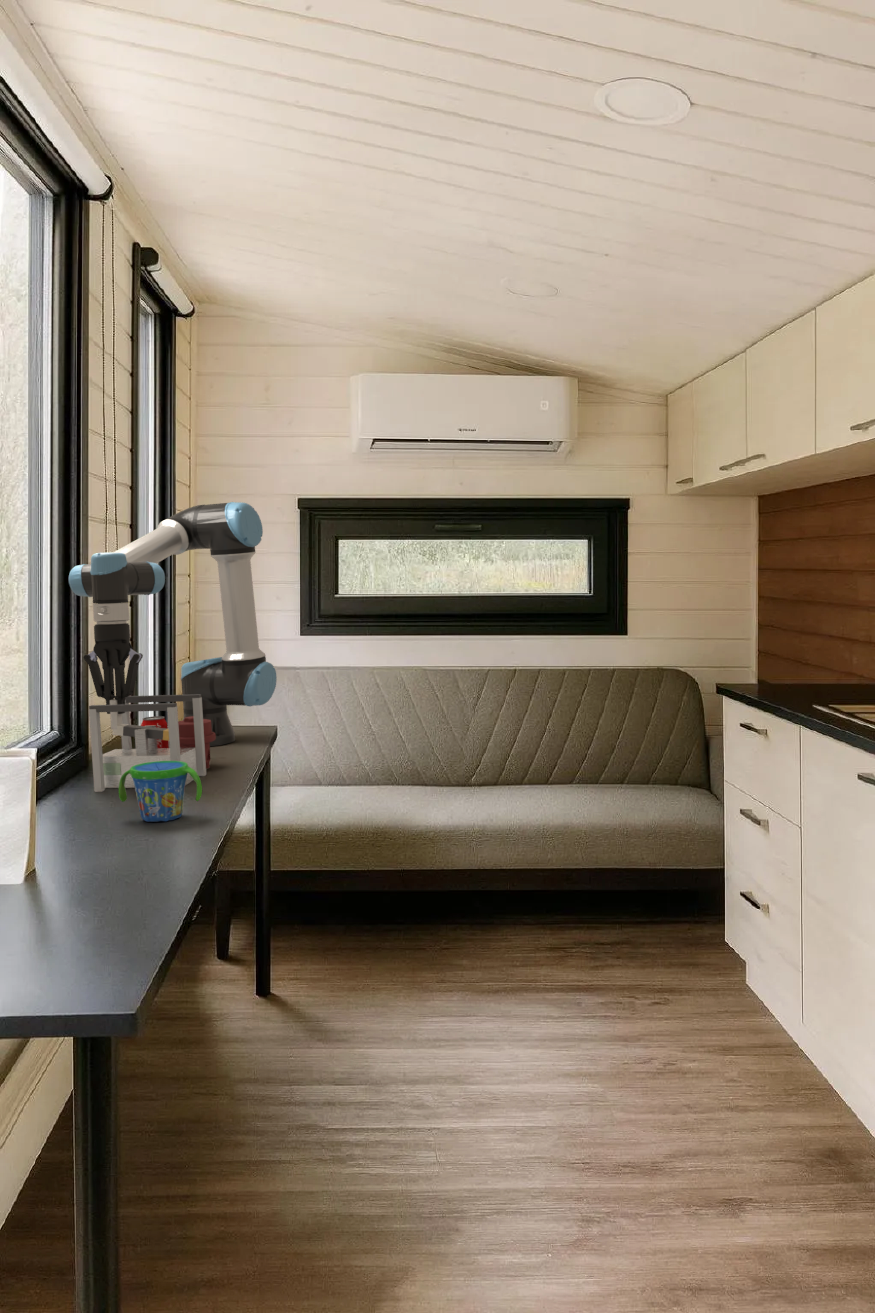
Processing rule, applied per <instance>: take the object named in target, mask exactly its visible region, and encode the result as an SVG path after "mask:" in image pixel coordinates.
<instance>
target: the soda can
mask: <svg viewBox="0 0 875 1313" xmlns="http://www.w3.org/2000/svg"><path fill="white" fill-rule="evenodd" d="M153 725H156V728H166V729H169V728H168V721H166V719H165V716H162V715H155V716H146V717H143V718H142V722H141V723H140V726H153ZM157 748H170V744H169V741H168V740H161V739H157Z"/></svg>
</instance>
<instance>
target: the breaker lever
mask: <svg viewBox="0 0 875 1313" xmlns="http://www.w3.org/2000/svg"><path fill="white" fill-rule="evenodd" d="M136 729H147V733H148V738H151V739H161V740H168V742H169V728H168V729H166V728H156V727H146V726H141V725H135V724H130V725H129V724H121V725H118V726H117V729H112V736H120V737H121V736H131V738H132V737H133V738H135V730H136Z"/></svg>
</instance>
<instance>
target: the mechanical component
mask: <svg viewBox="0 0 875 1313" xmlns="http://www.w3.org/2000/svg"><path fill="white" fill-rule="evenodd" d="M183 718H184V717H183ZM178 726H179V742H180V748H195V732H194V716H190V717H185V718H184V720H183V719H182V720H178ZM203 727H204V744H205V761H206V770H207V769H210V762H211V746H210V742H212V741H214V740H215V739H216V735H215V733H214V732H212V727H211V720H208V719H203ZM195 751H196V748H195ZM196 767H197V765H196Z"/></svg>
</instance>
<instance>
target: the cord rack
mask: <svg viewBox="0 0 875 1313" xmlns="http://www.w3.org/2000/svg"><path fill="white" fill-rule="evenodd" d="M183 701H193V716H194V732H195V748H196V765H197V774H198V776H199V777H205V776H206V775H207V769H206V761H205V744H204V727H203V711H202V697H201V694H190V695H182V694H163V695H162V694H157V695H155V694H154V695H131V696H129V697H126V698H125V704H120V705H106V704H92V705H91V704H90V705H89V706H88V708H89V709H88V718H89V729H90V730H89V732H90V744H91V747H90V748H91V760H92V773H93V774H92V777H93V789H94V792H95V793H102V792H104V791H105V790H106V788H105V784H104V770H103V755H102V754H103V742H102V731H101V728H102V727H101V715H100V713H107V712H125V713H123V714H122V724H129V725H131V717H130V716H131V714H130V713H131V712H132V713H133V712H160V711H161V712H162V711H163V712H167V726H168V729H169V741H168V742H169V748H170V760H171V761H181V759H180V742H179V726H178V721H179V714H178V713H179V712H178V705H177V703H178V702H181V703H183ZM176 702H177V703H176ZM120 737H121V749H133V746H132V744H133V743H132V736H120Z"/></svg>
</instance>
